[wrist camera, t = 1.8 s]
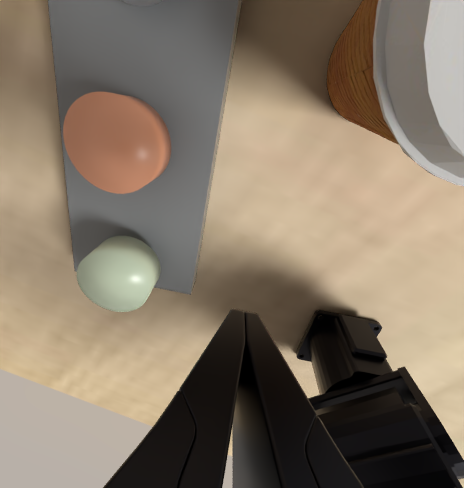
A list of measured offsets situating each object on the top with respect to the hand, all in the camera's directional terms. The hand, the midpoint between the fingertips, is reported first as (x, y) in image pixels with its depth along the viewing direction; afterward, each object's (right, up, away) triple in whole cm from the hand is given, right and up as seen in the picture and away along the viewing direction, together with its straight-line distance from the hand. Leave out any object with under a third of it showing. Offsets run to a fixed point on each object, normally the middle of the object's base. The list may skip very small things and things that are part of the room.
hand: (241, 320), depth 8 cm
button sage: (-8, +1, +11) cm, 14 cm away
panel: (-6, +10, +10) cm, 15 cm away
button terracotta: (-7, +9, +7) cm, 13 cm away
